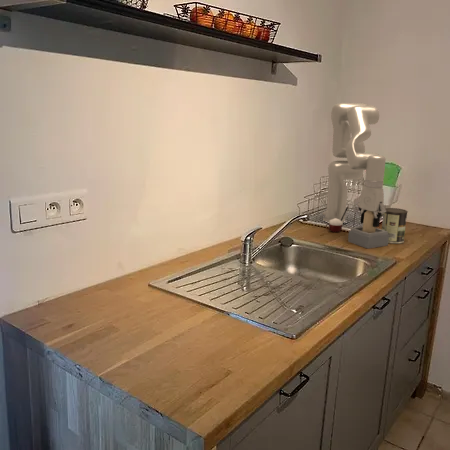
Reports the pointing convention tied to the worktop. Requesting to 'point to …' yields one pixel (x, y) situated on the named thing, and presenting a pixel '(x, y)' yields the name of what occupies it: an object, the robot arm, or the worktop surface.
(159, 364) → the worktop surface
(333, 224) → the cocoa
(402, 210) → the coffee can
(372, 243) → the pedestal
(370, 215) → the candle
